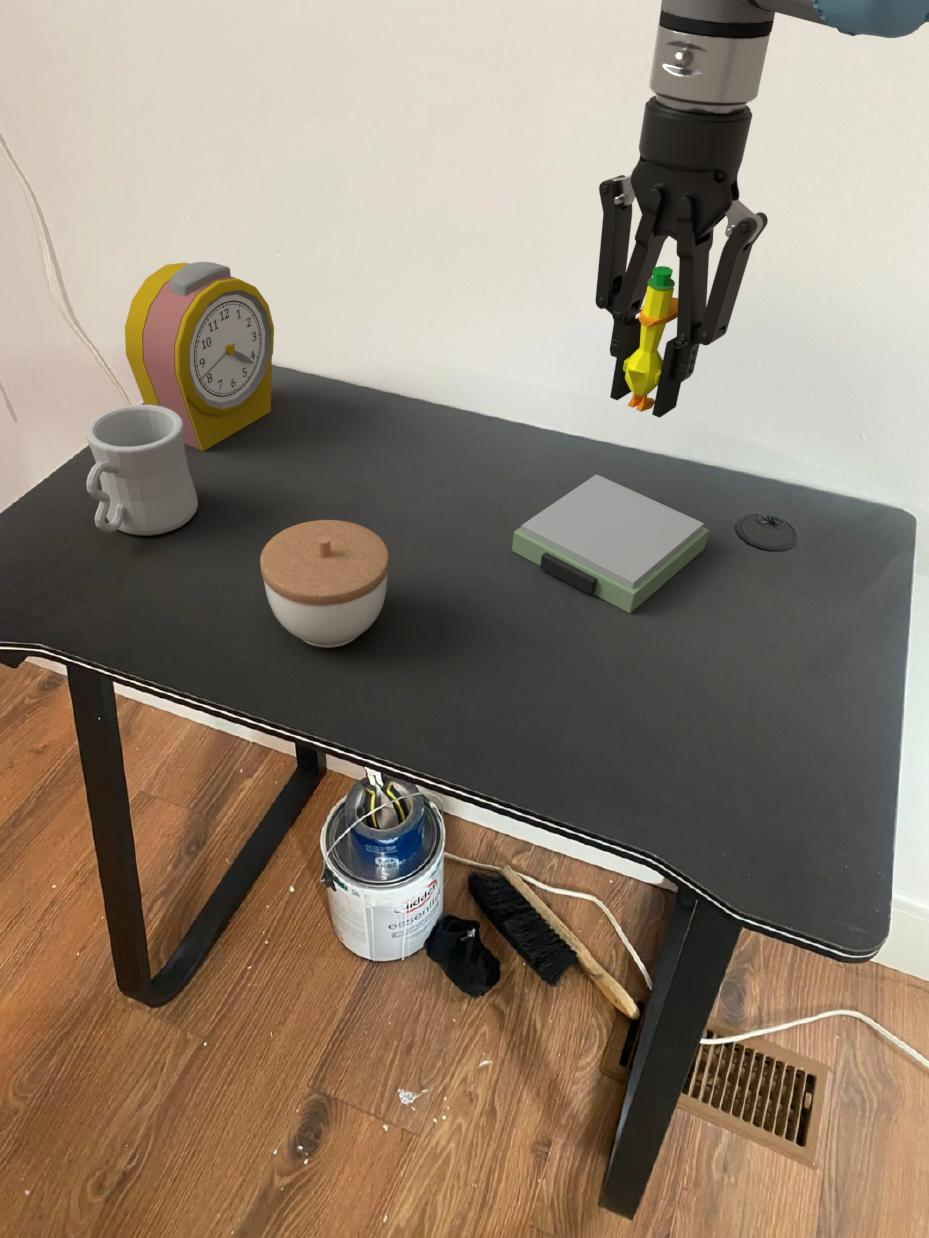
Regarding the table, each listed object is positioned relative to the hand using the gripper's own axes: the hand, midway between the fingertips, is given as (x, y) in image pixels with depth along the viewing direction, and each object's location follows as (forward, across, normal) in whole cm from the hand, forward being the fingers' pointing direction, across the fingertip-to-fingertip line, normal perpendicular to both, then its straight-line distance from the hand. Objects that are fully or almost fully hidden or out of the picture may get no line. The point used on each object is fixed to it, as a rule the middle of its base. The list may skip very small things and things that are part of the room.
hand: (642, 401), depth 80 cm
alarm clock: (+18, -49, -10) cm, 53 cm away
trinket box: (+17, -13, -26) cm, 34 cm away
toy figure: (0, 0, 0) cm, 0 cm away
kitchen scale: (+17, -1, +1) cm, 17 cm away
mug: (+18, -38, -28) cm, 50 cm away
